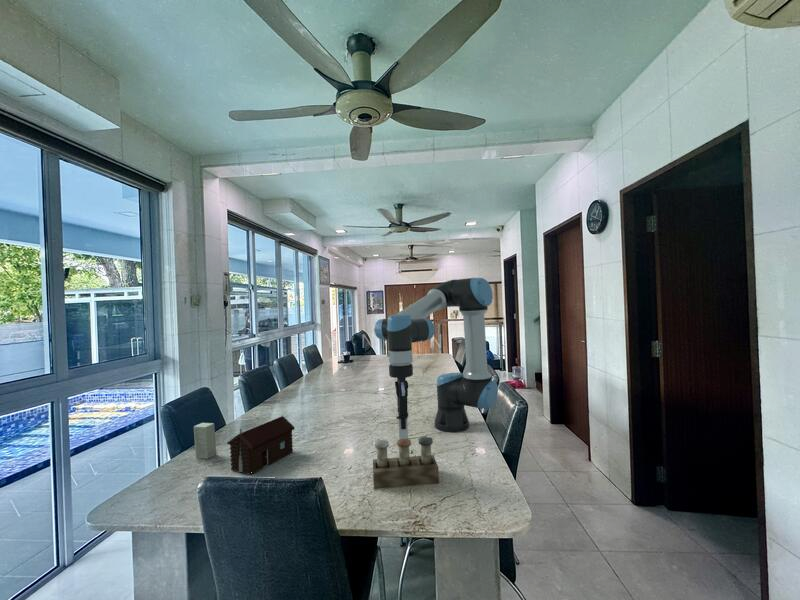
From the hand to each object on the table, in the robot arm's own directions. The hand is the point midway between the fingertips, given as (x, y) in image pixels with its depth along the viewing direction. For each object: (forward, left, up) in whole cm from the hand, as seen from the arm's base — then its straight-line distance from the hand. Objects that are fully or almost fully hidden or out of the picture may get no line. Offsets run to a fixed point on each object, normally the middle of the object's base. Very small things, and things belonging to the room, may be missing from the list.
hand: (403, 437), depth 115 cm
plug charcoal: (-7, 0, -9) cm, 11 cm away
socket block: (0, 0, -13) cm, 13 cm away
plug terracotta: (0, 0, -9) cm, 9 cm away
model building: (+50, -22, -13) cm, 56 cm away
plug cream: (+7, 0, -9) cm, 11 cm away
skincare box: (+74, -30, -13) cm, 81 cm away
